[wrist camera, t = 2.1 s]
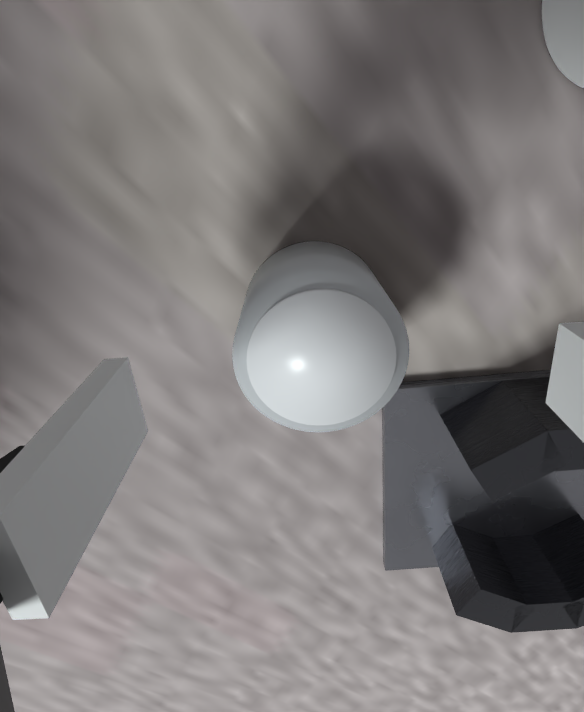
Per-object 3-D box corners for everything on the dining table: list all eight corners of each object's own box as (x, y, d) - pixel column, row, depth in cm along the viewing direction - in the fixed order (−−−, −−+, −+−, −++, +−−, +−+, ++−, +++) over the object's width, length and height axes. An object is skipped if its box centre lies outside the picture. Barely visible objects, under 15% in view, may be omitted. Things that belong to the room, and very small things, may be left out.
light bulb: (254, 375, 21) (244, 443, 16) (235, 248, 19) (217, 284, 14) (381, 364, 21) (409, 430, 16) (380, 234, 18) (413, 266, 14)
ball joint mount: (383, 561, 26) (401, 639, 22) (382, 384, 21) (405, 442, 17) (625, 544, 26) (689, 620, 22) (683, 358, 21) (782, 412, 17)
